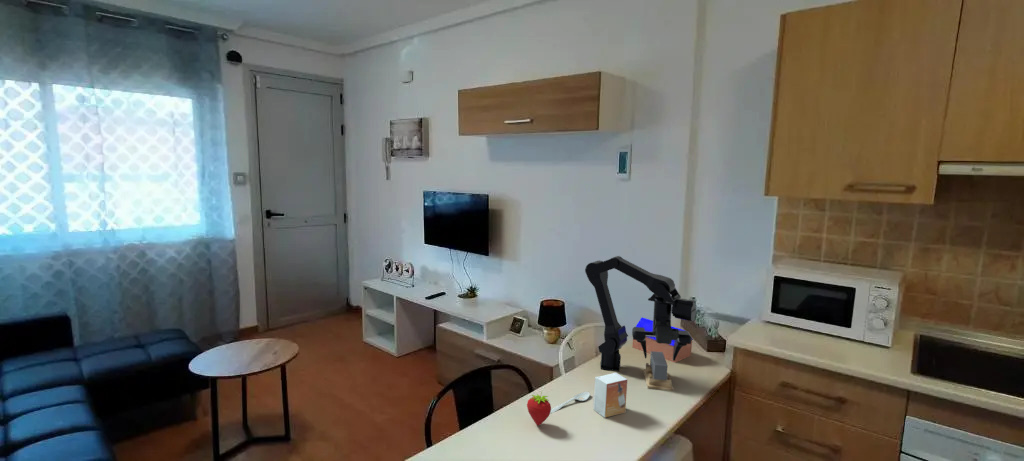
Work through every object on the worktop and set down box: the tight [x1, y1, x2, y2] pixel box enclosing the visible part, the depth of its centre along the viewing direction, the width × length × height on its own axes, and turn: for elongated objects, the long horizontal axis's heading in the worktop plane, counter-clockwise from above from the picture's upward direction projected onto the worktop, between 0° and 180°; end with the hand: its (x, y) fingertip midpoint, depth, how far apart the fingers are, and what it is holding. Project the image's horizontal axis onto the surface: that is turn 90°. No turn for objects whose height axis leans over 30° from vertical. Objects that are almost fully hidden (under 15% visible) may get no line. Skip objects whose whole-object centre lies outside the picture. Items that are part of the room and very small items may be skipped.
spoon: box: [550, 391, 591, 414], centre depth 147 cm, size 4×21×2 cm, turn 129°
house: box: [632, 317, 694, 363], centre depth 191 cm, size 12×20×12 cm, turn 40°
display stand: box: [643, 362, 674, 392], centre depth 165 cm, size 8×14×4 cm, turn 170°
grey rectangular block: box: [649, 351, 668, 380], centre depth 165 cm, size 4×12×5 cm, turn 170°
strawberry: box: [526, 391, 552, 426], centre depth 135 cm, size 6×8×10 cm
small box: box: [593, 372, 628, 419], centre depth 143 cm, size 8×6×10 cm
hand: (659, 359), depth 165 cm, fingers open, 9 cm apart
